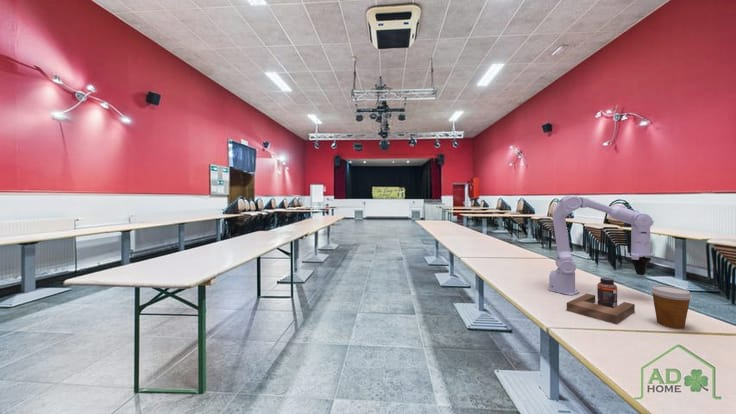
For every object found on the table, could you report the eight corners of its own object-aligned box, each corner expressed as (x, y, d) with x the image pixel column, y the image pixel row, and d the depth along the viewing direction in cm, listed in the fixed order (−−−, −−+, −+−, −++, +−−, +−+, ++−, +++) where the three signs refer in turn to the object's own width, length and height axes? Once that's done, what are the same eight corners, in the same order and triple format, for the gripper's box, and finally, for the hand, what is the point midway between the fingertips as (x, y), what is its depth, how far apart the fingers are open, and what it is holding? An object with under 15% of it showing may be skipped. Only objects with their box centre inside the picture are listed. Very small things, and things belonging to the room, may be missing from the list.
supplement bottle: (621, 310, 107) (621, 281, 106) (602, 309, 108) (602, 280, 108) (611, 304, 112) (611, 276, 112) (594, 303, 114) (594, 276, 114)
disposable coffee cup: (701, 331, 89) (701, 293, 89) (670, 331, 90) (671, 294, 89) (669, 318, 99) (670, 284, 99) (642, 318, 99) (642, 285, 99)
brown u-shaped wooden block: (566, 310, 108) (566, 302, 108) (586, 300, 118) (586, 293, 118) (616, 324, 95) (616, 315, 95) (634, 312, 105) (634, 304, 105)
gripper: (648, 245, 110) (648, 279, 110) (659, 241, 117) (659, 273, 118) (624, 243, 116) (624, 275, 116) (636, 239, 123) (636, 270, 124)
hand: (640, 274), depth 117 cm, fingers closed
